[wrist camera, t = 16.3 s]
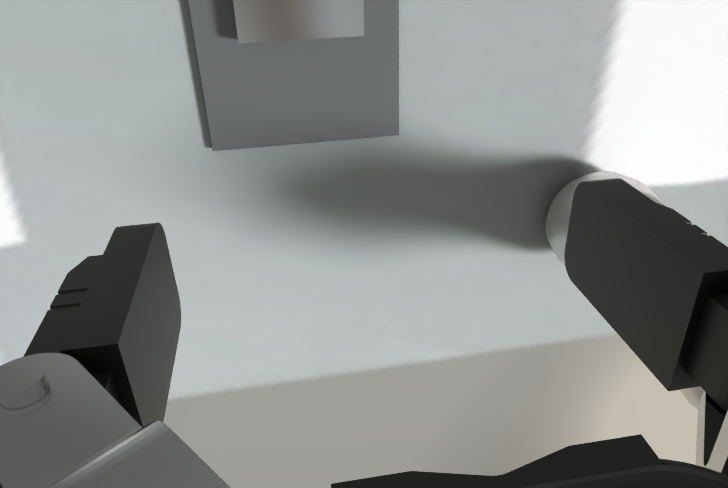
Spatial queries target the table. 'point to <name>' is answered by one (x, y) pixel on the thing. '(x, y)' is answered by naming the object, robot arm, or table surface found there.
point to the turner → (297, 19)
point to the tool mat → (297, 81)
